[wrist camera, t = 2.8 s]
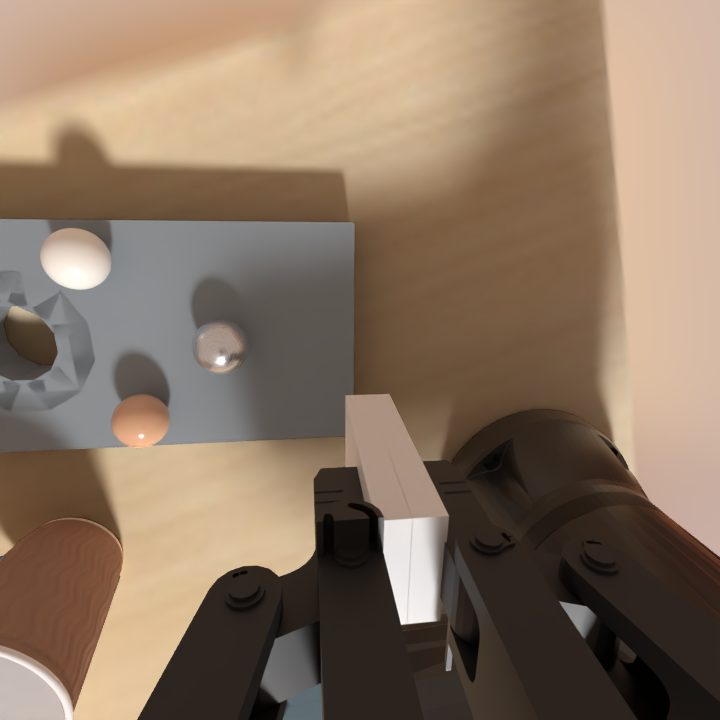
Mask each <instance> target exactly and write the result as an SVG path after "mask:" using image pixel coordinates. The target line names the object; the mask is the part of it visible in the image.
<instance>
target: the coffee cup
mask: <svg viewBox="0 0 720 720" xmlns="http://www.w3.org/2000/svg"><path fill="white" fill-rule="evenodd" d="M122 563H123V551H122V547H121V545H120V543H119V541H118V539H117V538H116V537H115V536H114V535H113V533H111V532H110V531H109V530H108V529H107V528H105V527H103V526H102V525H100V524H98V523H96V522H93V521H90V520H87V519H82V518H72V517H68V518H59V519H56V520H52V521H49V522H47V523H45V524H43V525H42V526H40V527H39V528H37V529H36V530H35V531H33V532H31V533H29V534H28V535H27V536H25V537H24V538H23V539H22V540H21V541H20V542H18V543H17V544H16V545H15V546H14V547H13V548H12V549H11V550H9V551H8V552H7V553H6V554H5V555H4V556H0V720H73V718H74V713H73V712H74V709H75V706H76V703H77V700H78V698H79V695H80V692H81V689H82V686H83V683H84V680H85V677H86V674H87V672H88V669H89V666H90V663H91V660H92V657H93V654H94V651H95V648H96V646H97V643H98V640H99V637H100V634H101V631H102V628H103V625H104V622H105V620H106V617H107V614H108V611H109V608H110V605H111V602H112V599H113V596H114V593H115V591H116V588H117V585H118V582H119V579H120V572H121V568H122Z"/></svg>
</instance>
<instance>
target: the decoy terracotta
mask: <svg viewBox="0 0 720 720" xmlns="http://www.w3.org/2000/svg"><path fill="white" fill-rule="evenodd" d="M169 426H170V413H169V410H168V408H167V406H166V405H165V404H164V403H163V402H162V401H161V400H160V399H158V398H156V397H154V396H151V395H147V394H138V395H133V396H130V397H128V398H126V399H124V400H123V401H122V402H121V403H119V404H118V406H117V407H116V408H115V410H114V412H113V414H112V418H111V427H112V431H113V433H114V435H115V437H116V438H117V439H118V440H119V441H120V442H121V443H123V444H125V445H127V446H130V447H133V448H144V447H149V446H151V445H154V444H156V443H157V442H159V441H160V440H161V439H162V438H163V437H164V436H165V434H166V433H167V431H168V429H169Z"/></svg>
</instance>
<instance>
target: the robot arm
mask: <svg viewBox="0 0 720 720" xmlns="http://www.w3.org/2000/svg"><path fill="white" fill-rule="evenodd" d="M314 511H315V542H316V549H315V552H314V554H313V556H312V557H311V559H310V560H309V561H308V562H307V563H306V564H305V565H303V566H302V567H301V568H299V569H297V570H295V571H293V572H291V573H289V574H286V575H283V576H280V577H278V575H276V574H275V573H274V572H272V571H271V570H270V569H268V568H264V567H260V566H243V567H240V568H237V569H234V570H231V571H229V572H227V573H226V574H224V575H223V576H221V577H220V578H218V579H217V581H216V582H215V583H214V584H213V585H212V587H211V588H210V589H209V591H208V593H207V594H206V596H205V598H204V600H203V602H202V603H201V605H200V607H199V609H198V611H197V612H196V614H195V616H194V618H193V620H192V622H191V623H190V625H189V627H188V629H187V631H186V632H185V634H184V636H183V638H182V640H181V641H180V643H179V645H178V647H177V649H176V650H175V652H174V654H173V656H172V658H171V659H170V661H169V663H168V665H167V667H166V669H165V670H164V672H163V674H162V676H161V678H160V679H159V681H158V683H157V685H156V687H155V688H154V690H153V692H152V694H151V696H150V697H149V699H148V701H147V703H146V705H145V707H144V708H143V710H142V712H141V714H140V716H139V717H138V719H137V720H720V557H719V556H718V555H716V554H715V553H714V552H713V551H711V550H710V549H709V548H708V547H706V546H705V545H704V544H702V543H701V542H700V541H699V540H697V539H696V538H695V537H694V536H692V535H691V534H690V533H689V532H687V531H686V530H685V529H683V528H682V527H681V526H680V525H678V524H677V523H676V522H675V521H673V520H672V519H671V518H669V517H668V516H667V515H666V514H664V513H663V512H662V511H661V510H660V509H658V508H657V507H656V506H655V505H653V504H652V503H651V502H650V501H649V499H648V498H647V496H646V494H645V493H644V491H643V489H642V488H641V486H640V484H639V483H638V481H637V480H636V478H635V477H634V475H633V474H632V473H631V472H630V471H629V469H628V466H627V464H626V461H625V460H624V458H623V456H622V454H621V453H620V451H619V450H618V448H617V447H616V446H615V445H614V444H613V443H612V442H611V441H610V440H609V439H608V438H607V437H606V436H605V435H604V434H602V433H601V432H600V431H598V430H597V429H596V428H594V427H593V426H591V425H590V424H589V423H587V422H586V421H584V420H582V419H581V418H579V417H577V416H574V415H572V414H569V413H565V412H561V411H555V410H532V411H525V412H521V413H517V414H513V415H510V416H508V417H505V418H503V419H501V420H498V421H496V422H494V423H493V424H491V425H489V426H488V427H486V428H485V429H483V430H482V431H480V432H479V433H478V434H476V435H475V436H474V437H473V438H472V439H471V440H470V441H469V442H468V443H467V444H466V445H465V446H464V447H463V448H462V449H461V450H460V452H459V453H458V454H457V456H456V457H455V459H454V460H453V462H452V463H451V464H450V463H449V462H447V461H446V460H442V461H424V462H422V460H421V458H420V456H419V454H418V452H417V450H416V448H415V445H414V443H413V441H412V439H411V437H410V435H409V433H408V431H407V429H406V427H405V425H404V423H403V421H402V419H401V417H400V415H399V413H398V411H397V409H396V407H395V405H394V403H393V401H392V399H391V396H390V394H370V395H345V467H341V468H323V469H320V471H319V472H318V474H317V475H316V477H315V478H314Z"/></svg>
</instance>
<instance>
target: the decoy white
mask: <svg viewBox="0 0 720 720" xmlns="http://www.w3.org/2000/svg"><path fill="white" fill-rule="evenodd" d="M40 260H41V264H42V266H43V269H44V270H45V272H46V273H47V275H48V276H49V277H50V278H51V279H52V280H54V281H55V282H56V283H58V284H60V285H62V286H64V287H67V288H70V289H76V290H85V289H90V288H93V287H95V286H97V285H99V284H101V283H102V282H103V281H104V280H105V279H106V278H107V276H108V275H109V273H110V270H111V265H112V260H111V255H110V252H109V250H108V248H107V246H106V245H105V243H104V242H103V241H102V240H101V239H100V238H99V237H97V236H96V235H94V234H93V233H91V232H89V231H86V230H83V229H78V228H65V229H61V230H58V231H56V232H54V233H52V234H51V235H49V236H48V237H47V238H46V240H45V241H44V242H43V244H42V247H41V251H40Z"/></svg>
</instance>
